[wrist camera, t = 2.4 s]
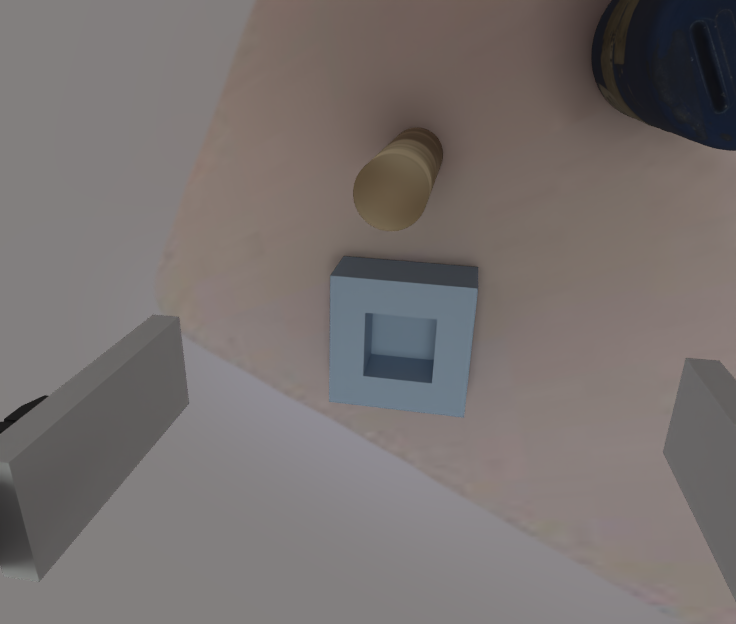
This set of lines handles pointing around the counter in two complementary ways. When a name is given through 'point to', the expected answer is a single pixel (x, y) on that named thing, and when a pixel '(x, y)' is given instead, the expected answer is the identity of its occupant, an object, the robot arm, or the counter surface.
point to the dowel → (399, 180)
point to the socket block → (401, 334)
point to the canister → (671, 66)
